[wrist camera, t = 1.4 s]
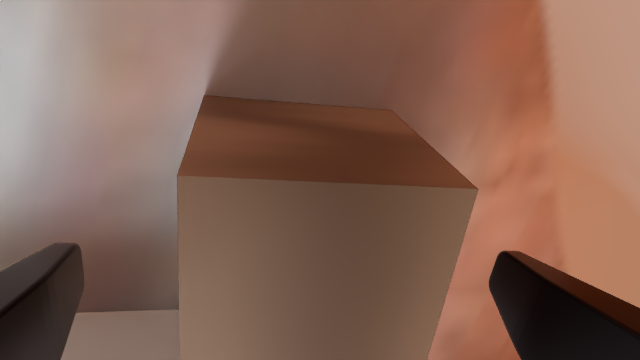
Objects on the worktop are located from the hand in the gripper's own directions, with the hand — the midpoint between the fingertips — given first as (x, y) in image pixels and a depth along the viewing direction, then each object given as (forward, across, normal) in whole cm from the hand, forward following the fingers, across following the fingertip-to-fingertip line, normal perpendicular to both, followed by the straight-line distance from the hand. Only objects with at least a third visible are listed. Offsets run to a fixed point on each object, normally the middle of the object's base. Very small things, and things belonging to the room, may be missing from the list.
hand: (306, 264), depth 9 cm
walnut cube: (+4, 0, 0) cm, 4 cm away
